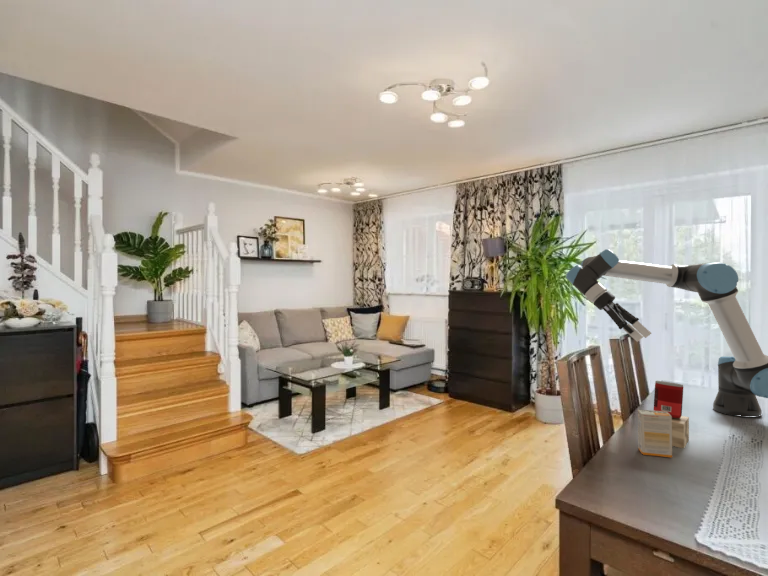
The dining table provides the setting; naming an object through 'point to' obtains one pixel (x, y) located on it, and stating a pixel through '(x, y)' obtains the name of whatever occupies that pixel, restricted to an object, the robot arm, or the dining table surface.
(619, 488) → the dining table surface
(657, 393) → the canned food
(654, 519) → the dining table surface
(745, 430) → the dining table surface
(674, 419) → the beech block
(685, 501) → the dining table surface
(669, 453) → the supplement box
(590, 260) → the robot arm
